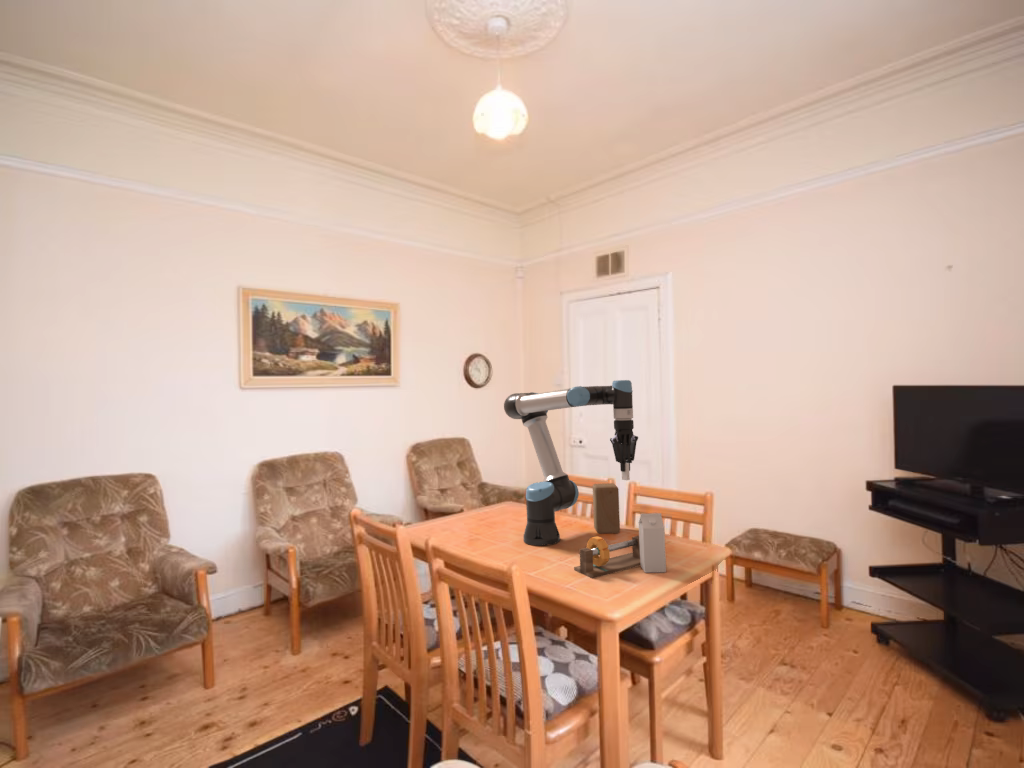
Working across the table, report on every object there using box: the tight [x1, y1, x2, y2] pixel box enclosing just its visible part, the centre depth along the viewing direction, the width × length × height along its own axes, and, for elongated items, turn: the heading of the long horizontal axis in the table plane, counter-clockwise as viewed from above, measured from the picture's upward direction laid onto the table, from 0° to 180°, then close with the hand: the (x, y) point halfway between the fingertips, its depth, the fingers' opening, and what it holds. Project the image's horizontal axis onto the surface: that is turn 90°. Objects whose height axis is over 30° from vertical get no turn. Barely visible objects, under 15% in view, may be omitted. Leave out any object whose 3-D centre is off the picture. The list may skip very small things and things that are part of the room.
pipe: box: [591, 539, 638, 556], centre depth 180 cm, size 3×24×3 cm, turn 121°
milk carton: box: [638, 512, 667, 574], centre depth 175 cm, size 7×7×19 cm
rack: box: [573, 535, 641, 579], centre depth 180 cm, size 10×27×8 cm, turn 120°
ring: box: [586, 535, 611, 566], centre depth 176 cm, size 9×2×9 cm, turn 30°
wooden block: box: [592, 482, 621, 535], centre depth 225 cm, size 10×10×20 cm
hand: (625, 479), depth 201 cm, fingers closed
